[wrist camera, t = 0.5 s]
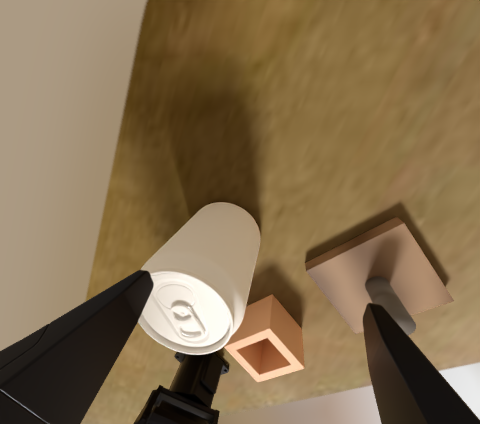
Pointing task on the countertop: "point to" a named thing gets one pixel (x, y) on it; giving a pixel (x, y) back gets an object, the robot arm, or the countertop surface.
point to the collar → (267, 341)
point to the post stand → (379, 276)
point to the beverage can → (202, 280)
